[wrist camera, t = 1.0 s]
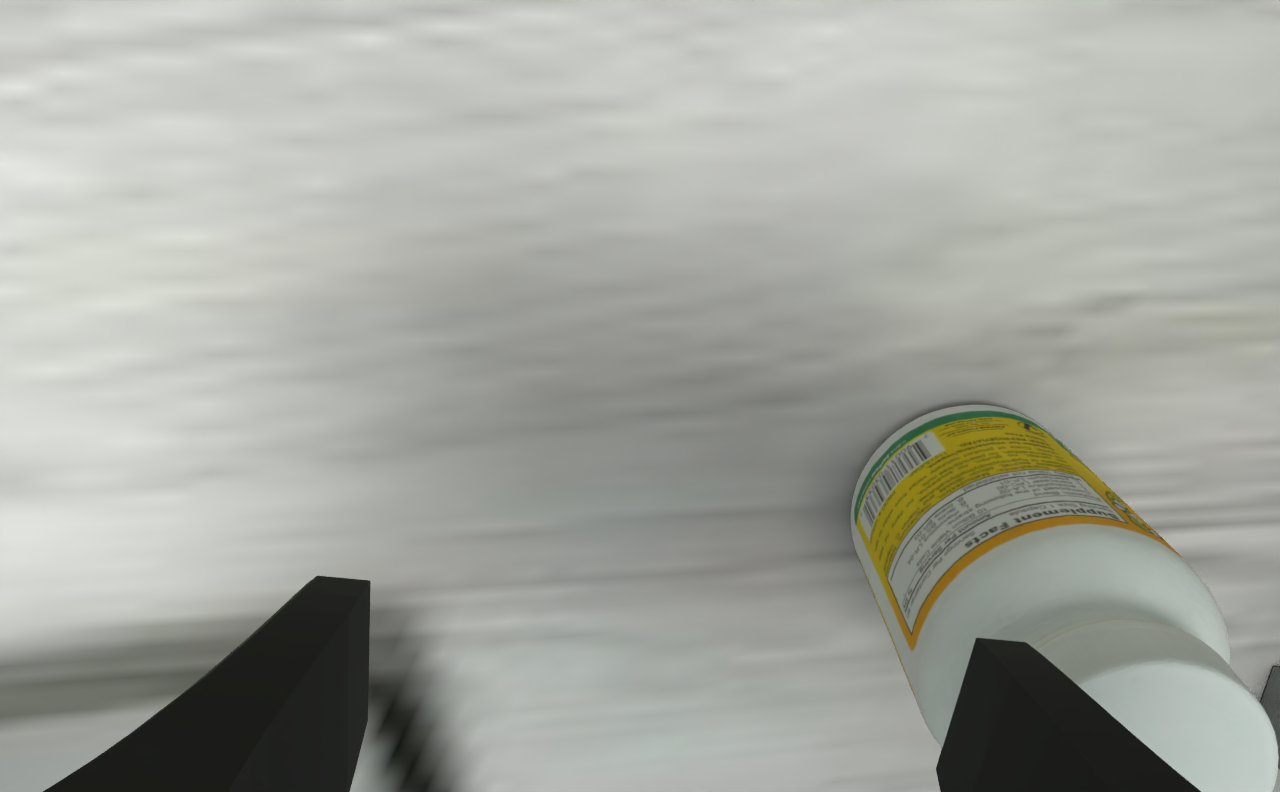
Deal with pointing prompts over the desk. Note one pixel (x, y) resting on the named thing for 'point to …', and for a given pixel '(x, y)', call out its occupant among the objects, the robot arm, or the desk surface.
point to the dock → (1273, 703)
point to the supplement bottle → (1050, 589)
